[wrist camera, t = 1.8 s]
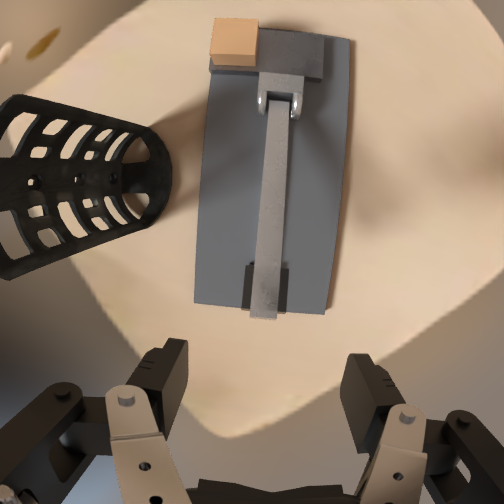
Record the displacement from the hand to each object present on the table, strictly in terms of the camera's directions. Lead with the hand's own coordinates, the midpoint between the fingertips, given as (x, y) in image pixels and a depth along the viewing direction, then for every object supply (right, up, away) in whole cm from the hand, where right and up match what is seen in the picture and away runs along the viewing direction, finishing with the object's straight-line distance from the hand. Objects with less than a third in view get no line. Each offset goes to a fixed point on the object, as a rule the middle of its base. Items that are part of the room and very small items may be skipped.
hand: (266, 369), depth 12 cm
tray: (+2, +13, +19) cm, 24 cm away
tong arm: (+1, +9, +13) cm, 16 cm away
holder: (-13, +12, +20) cm, 27 cm away
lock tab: (-2, +24, +15) cm, 28 cm away
